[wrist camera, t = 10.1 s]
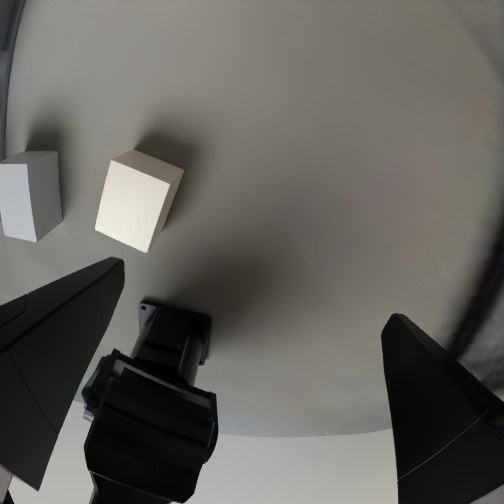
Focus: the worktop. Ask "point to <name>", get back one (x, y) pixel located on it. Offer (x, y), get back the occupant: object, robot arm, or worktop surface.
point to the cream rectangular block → (137, 198)
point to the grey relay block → (30, 194)
